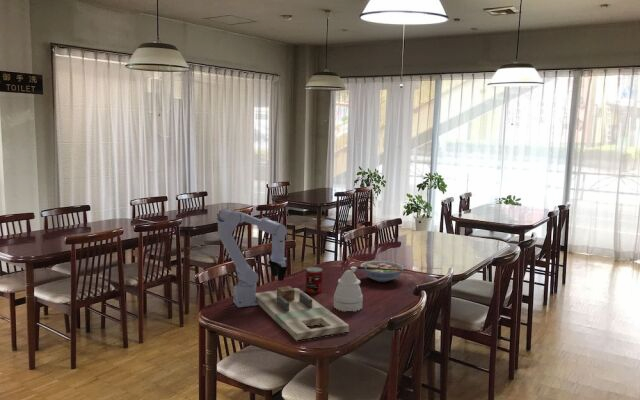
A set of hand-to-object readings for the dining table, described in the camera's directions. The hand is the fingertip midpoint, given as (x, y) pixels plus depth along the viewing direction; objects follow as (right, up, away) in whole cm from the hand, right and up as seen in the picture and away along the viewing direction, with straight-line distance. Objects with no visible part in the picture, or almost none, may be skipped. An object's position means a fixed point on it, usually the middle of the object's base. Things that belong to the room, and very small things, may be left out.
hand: (277, 278), depth 238 cm
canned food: (+16, -8, +13) cm, 22 cm away
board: (+10, -13, -19) cm, 25 cm away
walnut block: (+4, -8, -8) cm, 12 cm away
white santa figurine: (+32, -12, -7) cm, 35 cm away
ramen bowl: (+52, -6, +34) cm, 62 cm away
